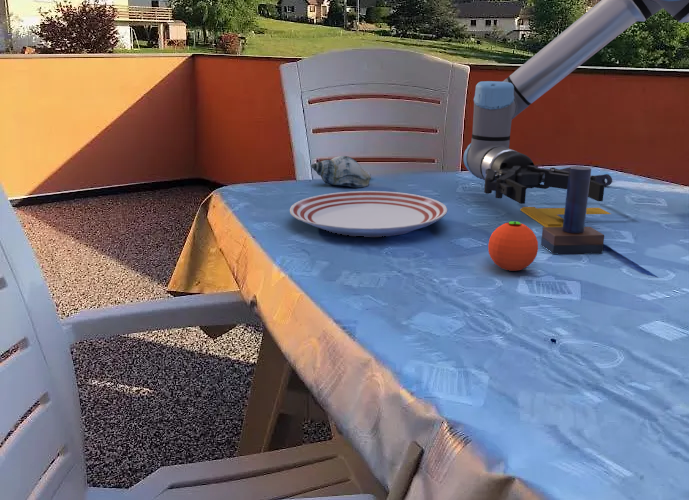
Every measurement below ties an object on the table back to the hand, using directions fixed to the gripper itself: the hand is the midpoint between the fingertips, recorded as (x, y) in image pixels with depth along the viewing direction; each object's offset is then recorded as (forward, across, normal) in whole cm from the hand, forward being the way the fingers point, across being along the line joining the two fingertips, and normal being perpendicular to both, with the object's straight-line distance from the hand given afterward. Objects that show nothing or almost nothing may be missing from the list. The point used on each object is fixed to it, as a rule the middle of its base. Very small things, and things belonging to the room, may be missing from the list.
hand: (563, 194), depth 114 cm
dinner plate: (-15, +28, -8) cm, 33 cm away
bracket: (-46, -29, -8) cm, 56 cm away
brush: (+4, 0, -8) cm, 9 cm away
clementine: (+12, +14, -8) cm, 20 cm away
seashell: (-49, +27, -8) cm, 57 cm away
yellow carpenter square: (-14, -11, -8) cm, 19 cm away
